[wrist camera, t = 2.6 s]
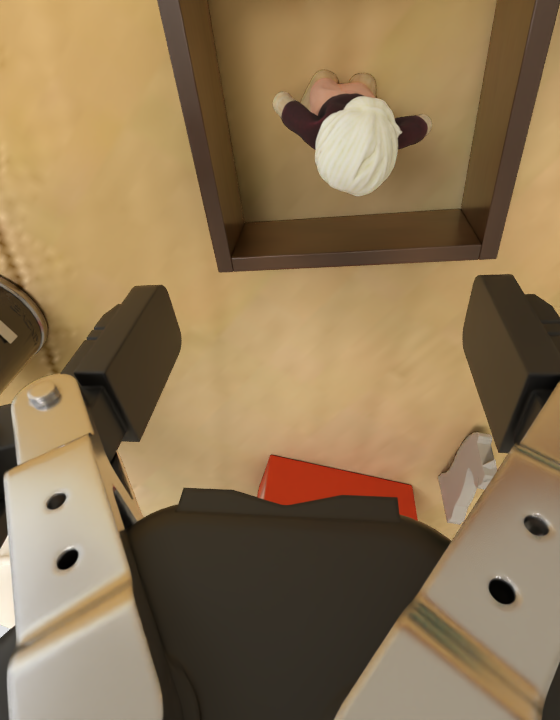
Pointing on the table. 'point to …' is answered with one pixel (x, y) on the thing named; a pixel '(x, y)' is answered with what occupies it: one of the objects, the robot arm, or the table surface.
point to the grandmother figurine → (350, 130)
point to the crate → (378, 231)
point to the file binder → (326, 484)
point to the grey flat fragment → (467, 475)
